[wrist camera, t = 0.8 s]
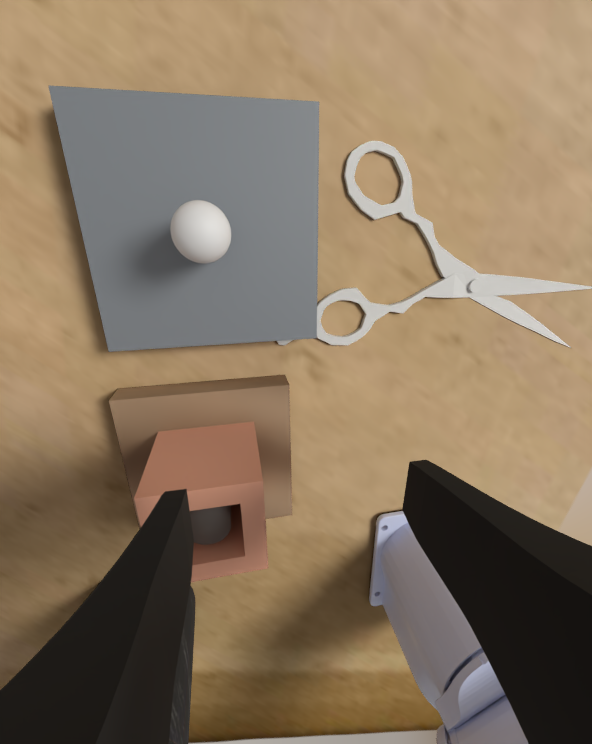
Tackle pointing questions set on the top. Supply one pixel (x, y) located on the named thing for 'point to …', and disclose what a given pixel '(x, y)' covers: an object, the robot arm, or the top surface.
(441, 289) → the scissors
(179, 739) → the travel mug
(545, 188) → the top surface
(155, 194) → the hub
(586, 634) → the robot arm
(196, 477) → the collar
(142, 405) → the stand
